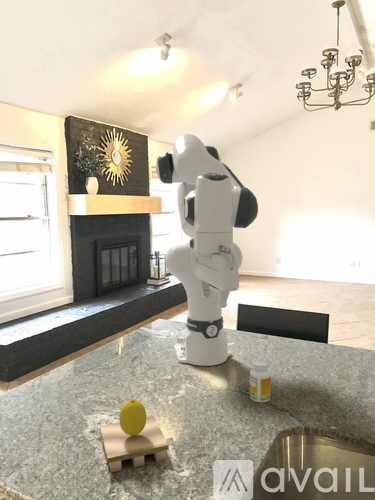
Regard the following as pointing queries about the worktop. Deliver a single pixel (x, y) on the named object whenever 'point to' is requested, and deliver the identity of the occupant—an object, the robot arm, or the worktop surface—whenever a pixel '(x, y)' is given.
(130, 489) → the worktop surface
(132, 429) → the lemon
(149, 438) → the platform
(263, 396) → the supplement bottle
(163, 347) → the worktop surface
